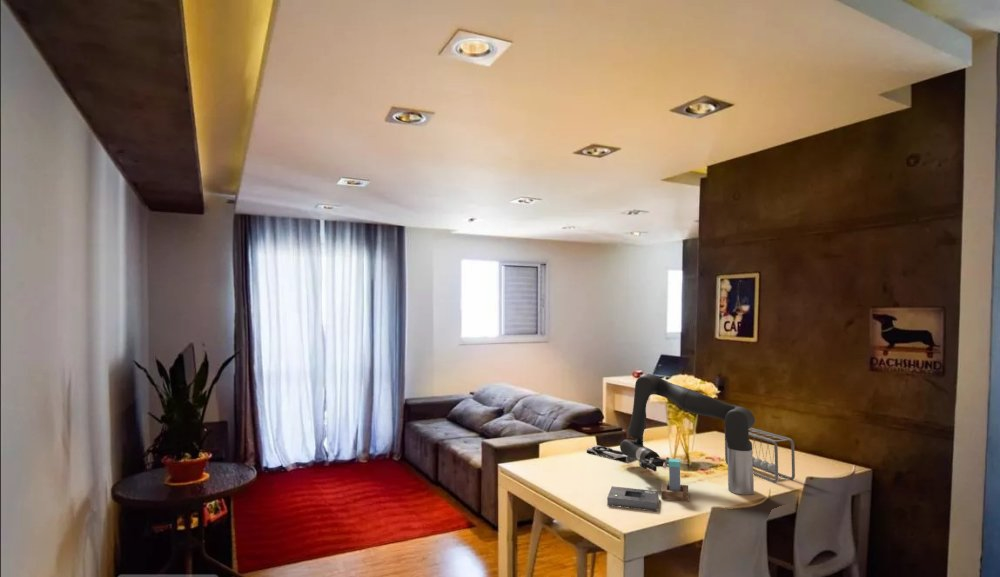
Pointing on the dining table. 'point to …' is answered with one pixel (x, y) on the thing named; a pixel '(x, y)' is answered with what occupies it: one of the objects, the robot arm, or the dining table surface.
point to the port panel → (633, 498)
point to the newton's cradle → (764, 464)
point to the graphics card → (609, 453)
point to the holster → (674, 493)
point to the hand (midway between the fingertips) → (665, 468)
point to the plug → (674, 474)
